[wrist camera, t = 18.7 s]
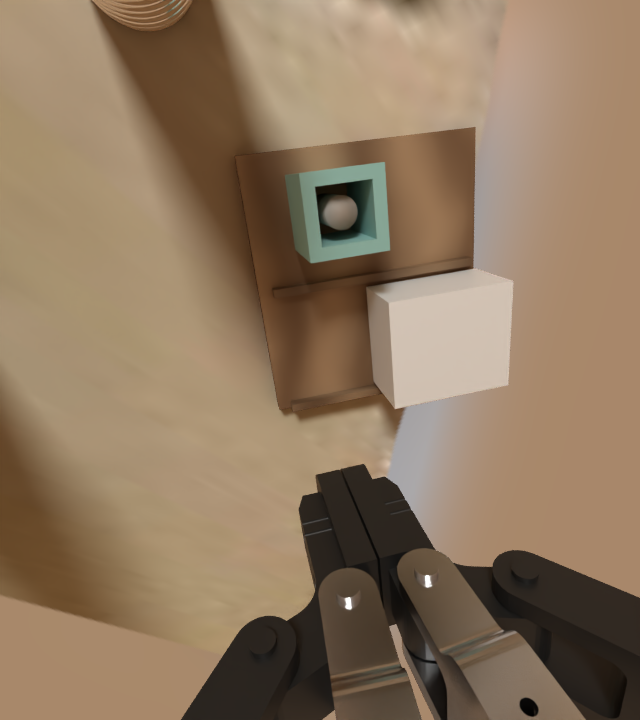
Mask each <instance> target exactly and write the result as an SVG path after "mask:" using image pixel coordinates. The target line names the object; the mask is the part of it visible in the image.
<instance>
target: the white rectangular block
mask: <svg viewBox="0 0 640 720" xmlns="http://www.w3.org/2000/svg"><path fill="white" fill-rule="evenodd" d="M366 292H367V305H368V318H369V330H370V343H371V356H372V368H373V381H374V383H375V384H376V385H377V386H378V388H379V389H380V390H381V392H382V393H383V394H384V395H385V397H386V398H387V399H388V401H389V402H390V403H391V405H392V406H393V407H394V408H395V409H398V408H403V407H407V406H412V405H417V404H422V403H426V402H431V401H435V400H440V399H445V398H450V397H454V396H459V395H464V394H469V393H473V392H478V391H483V390H487V389H492V388H497V387H502V386H506V385H508V376H509V357H510V335H511V317H512V297H513V296H512V295H513V281H512V280H509V279H506V278H503V277H500V276H496V275H494V274H491V273H488V272H485V271H482V270H479V269H476V268H474V269H469V270H463V271H457V272H451V273H445V274H439V275H433V276H427V277H421V278H415V279H410V280H404V281H398V282H392V283H386V284H380V285H374V286H368V287H366Z"/></svg>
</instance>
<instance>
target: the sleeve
mask: <svg viewBox="0 0 640 720" xmlns="http://www.w3.org/2000/svg"><path fill="white" fill-rule="evenodd" d="M285 181H286V188H287V195H288V202H289V209H290V216H291V223H292V230H293V237H294V244H295V250H296V251H297V252H298V253H300V254H301V255H302V256H303V257H304V258H305V259H306V260H307V261H309V262H310V263H317V262H323V261H329V260H335V259H341V258H347V257H353V256H359V255H365V254H371V253H377V252H383V251H390V238H389V222H388V205H387V189H386V173H385V162H380V163H372V164H364V165H356V166H349V167H341V168H334V169H326V170H319V171H311V172H304V173H296V174H289V175H285ZM339 183H346V188H347V196H348V197H350V198H351V199H352V200H353V201H354V202H355V204H356V206H357V210H358V214H357V218H356V221H355V222H354V224H353V225H352V226H351V227H350V230H345V231H338V232H332V233H325V234H320V226H319V217H318V209H317V200H316V192H315V187H317V186H324V185H331V184H339Z"/></svg>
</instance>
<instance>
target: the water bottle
mask: <svg viewBox="0 0 640 720" xmlns="http://www.w3.org/2000/svg"><path fill="white" fill-rule="evenodd" d="M92 1H93V2H94V3H95V4H96V5H97V6H98V7H99V8H100V9H101V10H102V11H103V12H104V13H106V14H107V15H108V16H109V17H111V18H112V19H114V20H115V21H117V22H118V23H120V24H122V25H124V26H126V27H129V28H132V29H135V30H140V31H157V30H162V29H165V28H167V27H170V26H171V25H173V24H175V23H176V22H177V21H179V20H180V19H181V18H182V17H183V16H184V14H185V13H186V12H187V10H188V9H189V7H190V5H191V3H192V1H193V0H92Z"/></svg>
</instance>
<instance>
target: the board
mask: <svg viewBox="0 0 640 720" xmlns="http://www.w3.org/2000/svg"><path fill="white" fill-rule="evenodd" d="M235 162H236V168H237V173H238V179H239V185H240V190H241V196H242V202H243V208H244V213H245V219H246V225H247V230H248V236H249V242H250V247H251V253H252V259H253V265H254V270H255V276H256V282H257V287H258V293H259V299H260V305H261V310H262V316H263V322H264V327H265V333H266V339H267V345H268V350H269V356H270V362H271V367H272V373H273V379H274V385H275V390H276V396H277V402H278V406H279V410H281V409H286V408H291V407H292V410H293V412H295V411H300V410H304V409H309V408H314V407H319V406H324V405H329V404H333V403H338V402H343V401H348V400H353V399H358V398H363V397H367V396H372V395H377V394H382V392H381V390H380V389H379V388H378V386H377V385H376V384H375V383H374V381H373V368H372V356H371V343H370V330H369V318H368V305H367V292H366V287H368V286H374V285H380V284H386V283H392V282H398V281H404V280H410V279H415V278H421V277H427V276H433V275H439V274H445V273H451V272H457V271H463V270H469V269H473V253H474V187H475V127H472V128H464V129H456V130H447V131H439V132H431V133H422V134H414V135H406V136H397V137H389V138H381V139H372V140H364V141H356V142H347V143H339V144H331V145H322V146H314V147H306V148H297V149H289V150H281V151H272V152H264V153H256V154H247V155H239V156H235ZM380 162H385V173H386V189H387V205H388V222H389V238H390V251H383V252H377V253H371V254H365V255H359V256H353V257H347V258H341V259H335V260H329V261H323V262H317V263H310V262H309V261H307V260H306V259H305V258H304V257H303V256H302V255H301V254H300V253H298V252H297V251H296V250H295V244H294V237H293V230H292V223H291V216H290V209H289V202H288V195H287V188H286V181H285V175H289V174H296V173H304V172H311V171H319V170H326V169H334V168H341V167H349V166H356V165H364V164H372V163H380ZM315 192H316V200H317V209H318V217H319V226H320V234H325V233H332V232H338V231H345V230H350V227H351V226H352V225H353V224H354V222H355V221H356V218H357V214H358V210H357V206H356V204H355V202H354V201H353V200H352V199H351V198H350V197H348V196H347V188H346V183H339V184H331V185H324V186H317V187H315Z"/></svg>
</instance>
